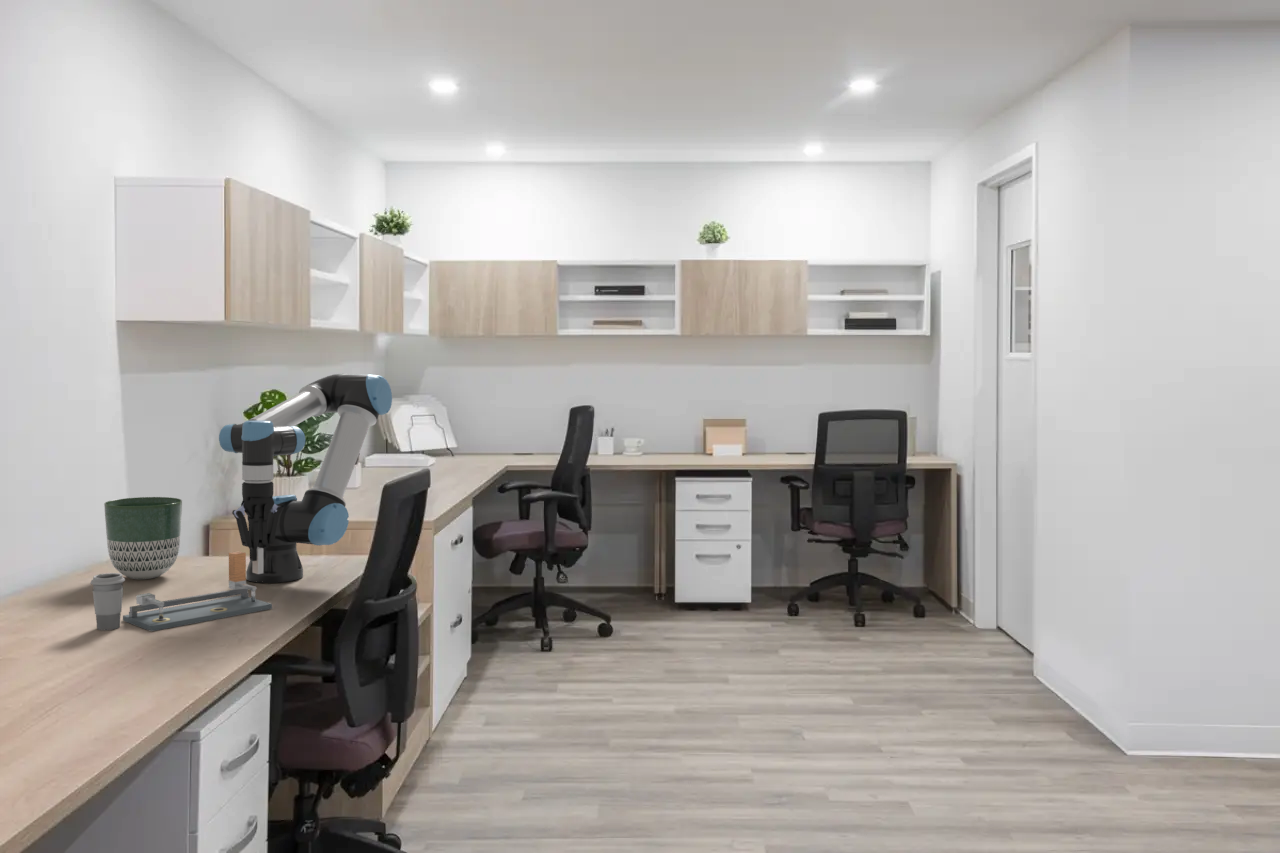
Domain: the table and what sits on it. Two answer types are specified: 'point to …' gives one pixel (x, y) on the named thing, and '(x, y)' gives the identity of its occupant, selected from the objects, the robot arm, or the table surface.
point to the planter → (143, 535)
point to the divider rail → (177, 601)
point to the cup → (108, 600)
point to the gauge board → (196, 612)
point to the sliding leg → (239, 573)
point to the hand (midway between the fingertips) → (257, 572)
